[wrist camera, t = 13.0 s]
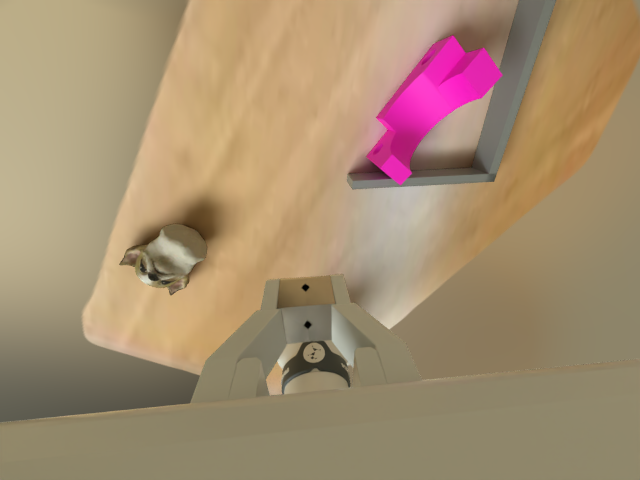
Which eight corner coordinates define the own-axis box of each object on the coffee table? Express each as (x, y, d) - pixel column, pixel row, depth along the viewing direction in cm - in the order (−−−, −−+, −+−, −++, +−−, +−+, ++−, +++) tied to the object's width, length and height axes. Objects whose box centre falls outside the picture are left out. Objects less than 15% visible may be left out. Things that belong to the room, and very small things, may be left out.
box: (476, 174, 38) (494, 181, 35) (347, 181, 37) (352, 189, 34) (551, -74, 25) (591, -103, 22) (354, -75, 24) (363, -106, 20)
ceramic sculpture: (212, 275, 33) (156, 322, 38) (230, 243, 41) (181, 286, 46) (140, 226, 29) (87, 286, 34) (175, 199, 36) (127, 252, 41)
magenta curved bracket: (432, 44, 30) (470, 27, 23) (461, 81, 32) (502, 75, 25) (353, 145, 35) (366, 155, 28) (382, 171, 37) (400, 185, 31)
